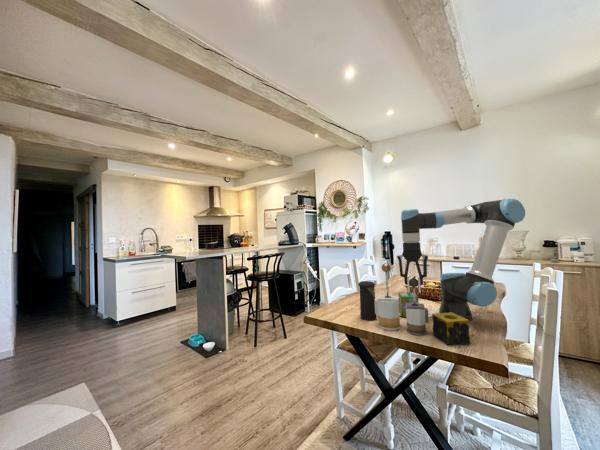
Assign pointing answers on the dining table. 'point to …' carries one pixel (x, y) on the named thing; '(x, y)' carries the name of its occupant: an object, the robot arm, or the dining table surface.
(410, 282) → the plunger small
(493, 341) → the dining table surface
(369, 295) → the container
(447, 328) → the dark box with hole
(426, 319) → the press small
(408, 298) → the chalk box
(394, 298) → the press large
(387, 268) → the plunger large
